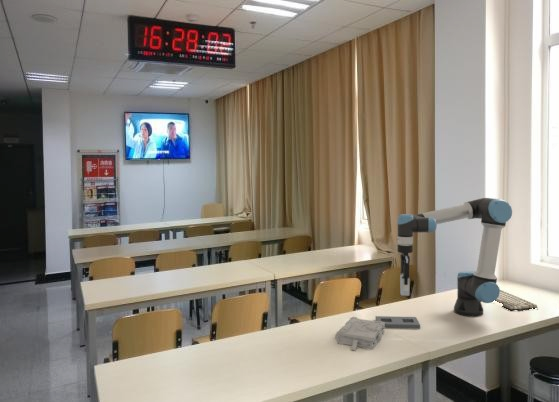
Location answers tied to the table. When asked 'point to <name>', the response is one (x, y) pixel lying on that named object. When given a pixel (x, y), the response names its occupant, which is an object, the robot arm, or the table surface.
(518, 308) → the mechanical keyboard
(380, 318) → the jack panel
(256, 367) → the table surface
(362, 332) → the grey lumpy block
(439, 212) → the robot arm
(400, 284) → the plug
